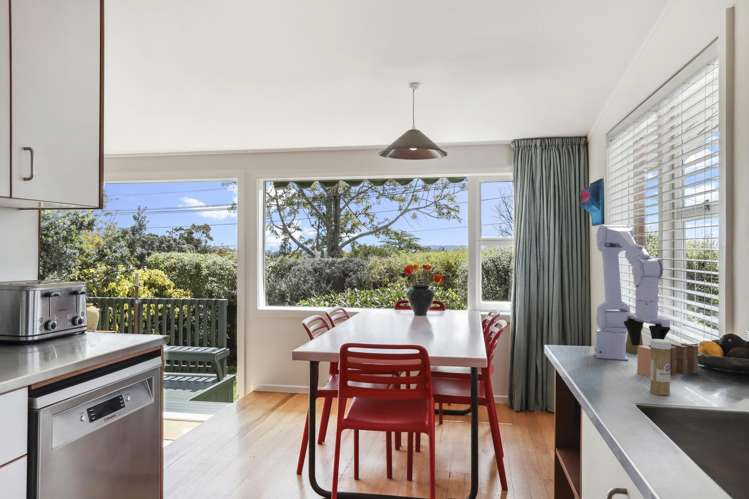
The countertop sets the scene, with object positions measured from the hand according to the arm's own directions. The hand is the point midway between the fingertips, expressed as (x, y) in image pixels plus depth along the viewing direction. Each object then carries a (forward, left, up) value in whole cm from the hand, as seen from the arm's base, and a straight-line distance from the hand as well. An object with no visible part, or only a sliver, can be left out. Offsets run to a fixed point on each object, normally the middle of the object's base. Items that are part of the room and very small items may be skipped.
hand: (645, 347), depth 145 cm
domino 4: (+13, +9, -8) cm, 18 cm away
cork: (+2, +33, -8) cm, 35 cm away
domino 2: (+7, +4, -8) cm, 11 cm away
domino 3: (+10, +7, -8) cm, 14 cm away
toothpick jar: (0, -20, -8) cm, 21 cm away
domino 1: (0, 0, -8) cm, 8 cm away
